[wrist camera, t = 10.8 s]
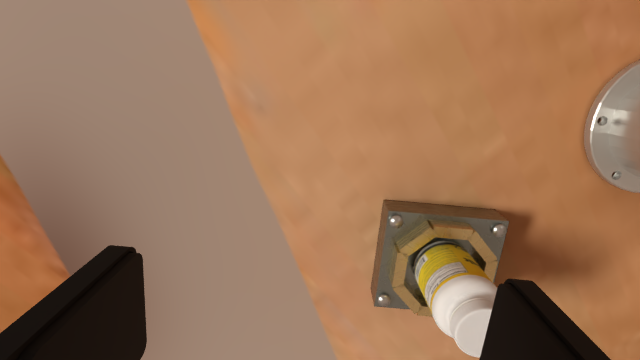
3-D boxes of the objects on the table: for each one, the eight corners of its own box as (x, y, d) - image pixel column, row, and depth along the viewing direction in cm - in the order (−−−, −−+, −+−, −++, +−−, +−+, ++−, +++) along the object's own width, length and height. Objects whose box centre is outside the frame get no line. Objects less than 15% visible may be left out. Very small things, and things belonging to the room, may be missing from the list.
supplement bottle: (478, 275, 36) (534, 349, 26) (425, 298, 36) (461, 378, 27) (457, 228, 34) (508, 288, 25) (402, 253, 35) (432, 320, 26)
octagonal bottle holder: (494, 209, 37) (517, 228, 32) (474, 297, 40) (492, 326, 35) (383, 199, 37) (391, 217, 32) (370, 289, 39) (376, 316, 35)
